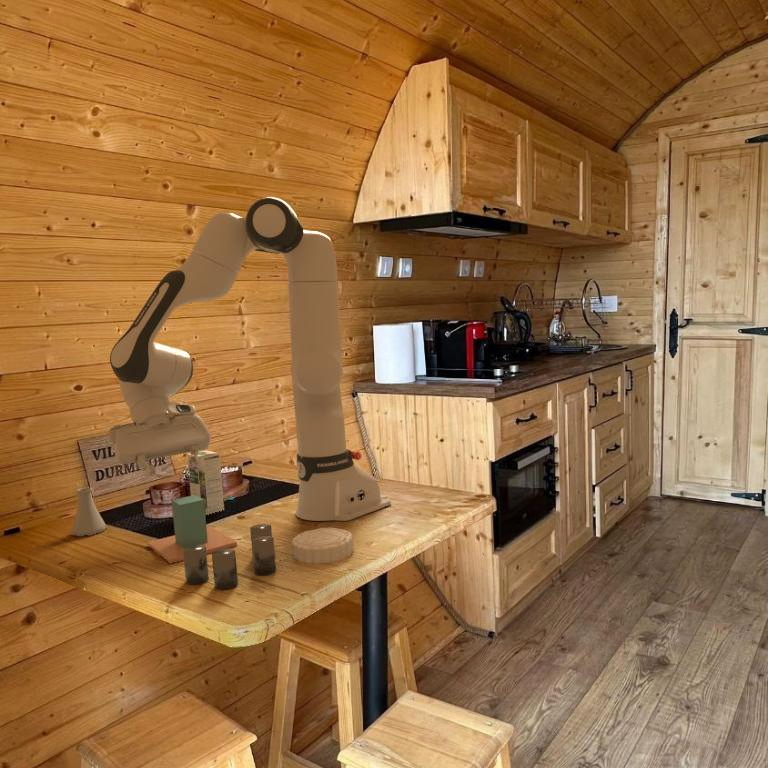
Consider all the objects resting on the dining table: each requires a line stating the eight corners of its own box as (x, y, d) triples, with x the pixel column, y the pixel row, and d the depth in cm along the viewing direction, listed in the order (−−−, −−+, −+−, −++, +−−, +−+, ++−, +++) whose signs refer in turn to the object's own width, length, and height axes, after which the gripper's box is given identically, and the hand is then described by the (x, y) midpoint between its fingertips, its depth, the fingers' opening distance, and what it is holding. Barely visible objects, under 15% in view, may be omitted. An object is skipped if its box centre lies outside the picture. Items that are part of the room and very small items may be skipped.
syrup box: (191, 513, 169) (185, 454, 167) (212, 506, 173) (207, 449, 172) (204, 516, 165) (198, 456, 164) (225, 510, 169) (220, 451, 168)
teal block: (198, 536, 149) (194, 494, 148) (207, 541, 145) (203, 499, 144) (175, 542, 146) (171, 500, 145) (184, 548, 142) (179, 504, 141)
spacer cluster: (267, 551, 139) (265, 522, 138) (297, 568, 129) (294, 537, 129) (179, 577, 129) (175, 545, 128) (203, 597, 119) (200, 563, 118)
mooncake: (280, 555, 137) (278, 538, 137) (327, 538, 146) (325, 521, 145) (319, 569, 129) (318, 550, 128) (366, 550, 137) (365, 532, 137)
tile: (211, 529, 155) (210, 526, 155) (237, 545, 144) (236, 541, 144) (147, 545, 147) (147, 542, 147) (169, 563, 136) (169, 559, 136)
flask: (94, 537, 155) (89, 493, 154) (64, 537, 156) (59, 493, 155) (112, 526, 162) (108, 484, 161) (84, 526, 164) (79, 485, 162)
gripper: (107, 418, 148) (126, 470, 141) (200, 404, 159) (222, 452, 153) (104, 436, 152) (122, 488, 145) (195, 421, 163) (215, 469, 157)
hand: (174, 469), depth 149 cm, fingers open, 8 cm apart
